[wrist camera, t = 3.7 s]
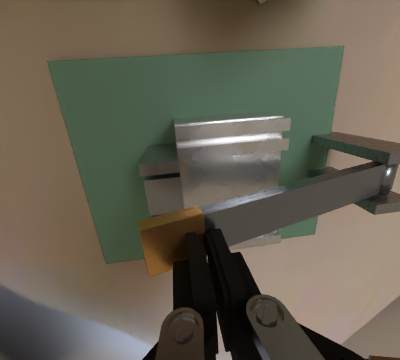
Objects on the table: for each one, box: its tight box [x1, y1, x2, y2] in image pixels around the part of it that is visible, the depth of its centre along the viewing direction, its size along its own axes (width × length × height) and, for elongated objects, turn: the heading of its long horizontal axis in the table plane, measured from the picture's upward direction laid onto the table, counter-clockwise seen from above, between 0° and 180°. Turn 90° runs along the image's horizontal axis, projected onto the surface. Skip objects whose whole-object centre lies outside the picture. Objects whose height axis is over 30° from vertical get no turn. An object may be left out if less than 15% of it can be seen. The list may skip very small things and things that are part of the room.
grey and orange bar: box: [137, 161, 399, 277], centre depth 13 cm, size 3×19×1 cm, turn 94°
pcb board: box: [47, 46, 344, 264], centre depth 21 cm, size 20×25×1 cm
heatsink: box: [138, 112, 400, 250], centre depth 18 cm, size 10×19×8 cm, turn 94°
